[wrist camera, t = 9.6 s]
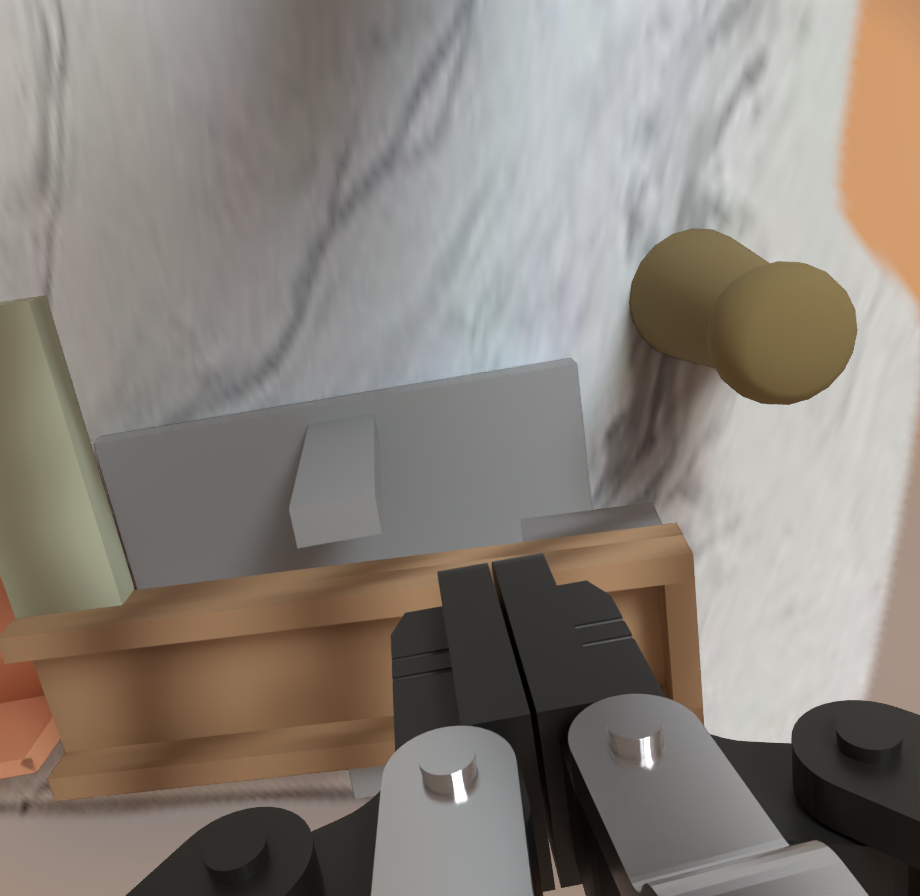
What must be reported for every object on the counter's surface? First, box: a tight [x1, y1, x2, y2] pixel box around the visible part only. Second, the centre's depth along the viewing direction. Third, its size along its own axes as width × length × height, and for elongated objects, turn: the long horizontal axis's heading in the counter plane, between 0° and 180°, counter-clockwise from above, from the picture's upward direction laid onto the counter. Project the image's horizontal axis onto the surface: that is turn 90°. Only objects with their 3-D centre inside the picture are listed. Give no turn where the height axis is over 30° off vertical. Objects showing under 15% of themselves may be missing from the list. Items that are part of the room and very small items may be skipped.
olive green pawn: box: [630, 229, 857, 405], centre depth 36 cm, size 6×6×11 cm
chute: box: [0, 296, 704, 801], centre depth 31 cm, size 24×18×4 cm
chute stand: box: [94, 358, 592, 799], centre depth 38 cm, size 22×14×11 cm, turn 98°
